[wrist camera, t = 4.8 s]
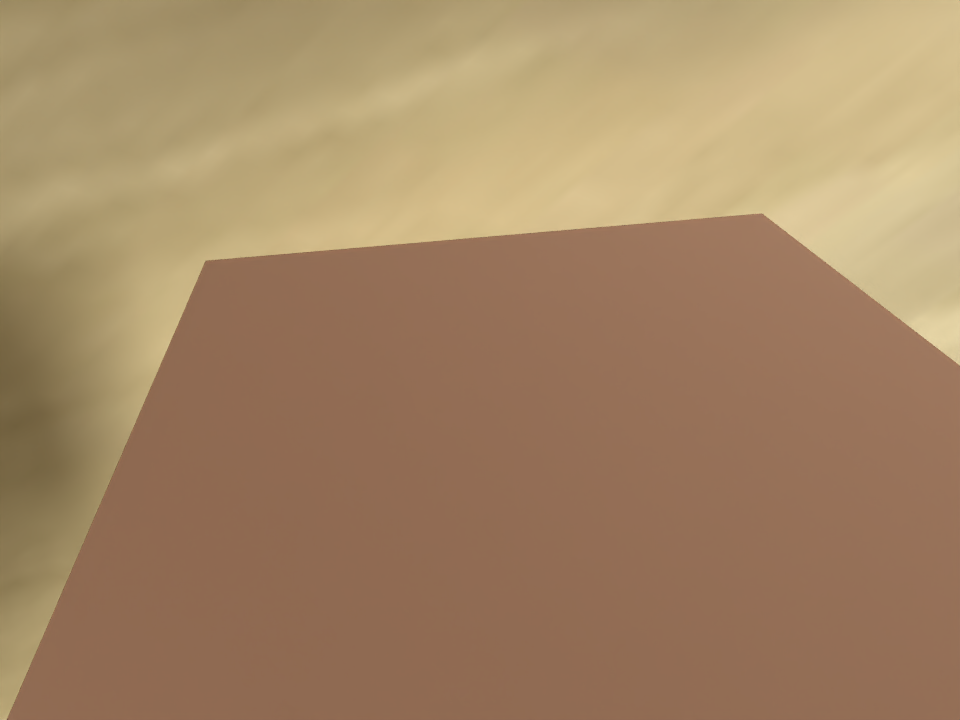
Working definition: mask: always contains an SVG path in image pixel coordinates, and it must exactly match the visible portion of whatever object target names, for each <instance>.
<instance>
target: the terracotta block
mask: <svg viewBox="0 0 960 720" xmlns="http://www.w3.org/2000/svg"><path fill="white" fill-rule="evenodd" d="M7 720H960V365H958V364H957V363H956V362H954V361H953V360H952V359H950V358H949V357H948V356H946V355H945V354H944V353H943V352H941V351H940V350H939V349H937V348H936V347H935V346H933V345H932V344H931V343H930V342H928V341H927V340H926V339H924V338H923V337H922V336H920V335H919V334H918V333H917V332H915V331H914V330H913V329H911V328H910V327H909V326H907V325H906V324H905V323H904V322H902V321H901V320H900V319H898V318H897V317H896V316H894V315H893V314H892V313H891V312H889V311H888V310H887V309H885V308H884V307H883V306H881V305H880V304H879V303H878V302H876V301H875V300H874V299H872V298H871V297H870V296H868V295H867V294H866V293H865V292H863V291H862V290H861V289H859V288H858V287H857V286H855V285H854V284H853V283H852V282H850V281H849V280H848V279H846V278H845V277H844V276H842V275H841V274H840V273H839V272H837V271H836V270H835V269H833V268H832V267H831V266H829V265H828V264H827V263H826V262H824V261H823V260H822V259H820V258H819V257H818V256H816V255H815V254H814V253H813V252H811V251H810V250H809V249H807V248H806V247H805V246H803V245H802V244H801V243H800V242H798V241H797V240H796V239H794V238H793V237H792V236H790V235H789V234H788V233H787V232H785V231H784V230H783V229H781V228H780V227H779V226H777V225H776V224H775V223H774V222H772V221H771V220H770V219H768V218H767V217H766V216H764V215H763V214H750V215H739V216H727V217H715V218H703V219H692V220H680V221H668V222H656V223H645V224H633V225H621V226H609V227H597V228H586V229H574V230H562V231H550V232H539V233H527V234H515V235H503V236H492V237H480V238H468V239H456V240H445V241H433V242H421V243H409V244H398V245H386V246H374V247H362V248H350V249H339V250H327V251H315V252H303V253H292V254H280V255H268V256H256V257H245V258H233V259H221V260H209V261H205V264H204V266H203V268H202V271H201V273H200V275H199V277H198V280H197V282H196V284H195V287H194V289H193V291H192V294H191V296H190V298H189V301H188V303H187V305H186V307H185V310H184V312H183V314H182V317H181V319H180V321H179V324H178V326H177V328H176V331H175V333H174V335H173V337H172V340H171V342H170V344H169V347H168V349H167V351H166V354H165V356H164V358H163V361H162V363H161V365H160V367H159V370H158V372H157V374H156V377H155V379H154V381H153V384H152V386H151V388H150V391H149V393H148V395H147V397H146V400H145V402H144V404H143V407H142V409H141V411H140V414H139V416H138V418H137V421H136V423H135V425H134V427H133V430H132V432H131V434H130V437H129V439H128V441H127V444H126V446H125V448H124V451H123V453H122V455H121V458H120V460H119V462H118V464H117V467H116V469H115V471H114V474H113V476H112V478H111V481H110V483H109V485H108V488H107V490H106V492H105V494H104V497H103V499H102V501H101V504H100V506H99V508H98V511H97V513H96V515H95V518H94V520H93V522H92V524H91V527H90V529H89V531H88V534H87V536H86V538H85V541H84V543H83V545H82V548H81V550H80V552H79V554H78V557H77V559H76V561H75V564H74V566H73V568H72V571H71V573H70V575H69V578H68V580H67V582H66V584H65V587H64V589H63V591H62V594H61V596H60V598H59V601H58V603H57V605H56V608H55V610H54V612H53V614H52V617H51V619H50V621H49V624H48V626H47V628H46V631H45V633H44V635H43V638H42V640H41V642H40V644H39V647H38V649H37V651H36V654H35V656H34V658H33V661H32V663H31V665H30V668H29V670H28V672H27V674H26V677H25V679H24V681H23V684H22V686H21V688H20V691H19V693H18V695H17V698H16V700H15V702H14V704H13V707H12V709H11V711H10V714H9V716H8V718H7Z"/></svg>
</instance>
